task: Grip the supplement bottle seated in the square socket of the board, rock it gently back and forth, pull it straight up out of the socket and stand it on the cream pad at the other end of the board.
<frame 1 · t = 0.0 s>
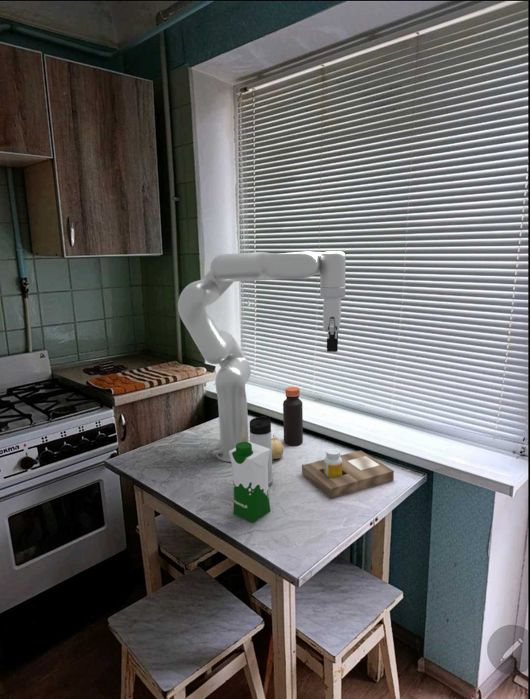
hand: (332, 347, 145), 37 cm above the table, tool pointing down, fingers open, 9 cm apart
onion: (271, 458, 156), on the table
socket board: (346, 477, 141), on the table
vinegar: (293, 442, 167), on the table
supplement bottle: (332, 481, 139), resting in socket board
travel mug: (262, 483, 139), on the table
milk carton: (252, 513, 124), on the table
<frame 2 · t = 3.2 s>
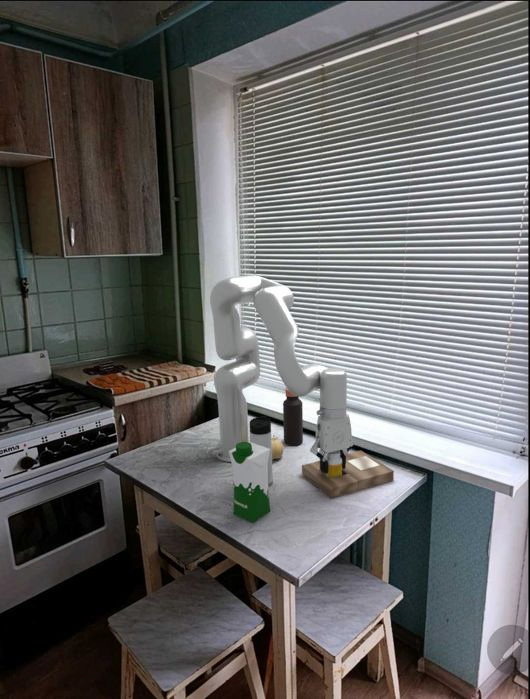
hand: (332, 468, 138), 4 cm above the table, tool pointing down, fingers closed on supplement bottle, 5 cm apart
supplement bottle: (332, 481, 139), resting in socket board, touching gripper
everything else where it was.
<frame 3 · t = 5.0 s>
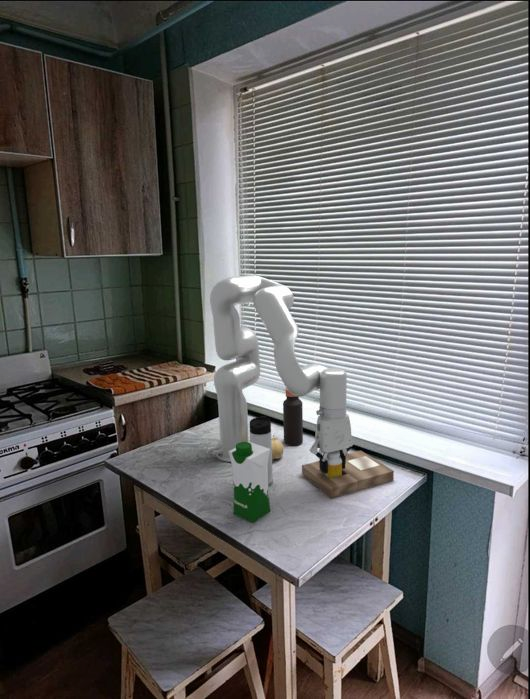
hand: (332, 468, 138), 4 cm above the table, tool pointing down, fingers closed on supplement bottle, 5 cm apart
supplement bottle: (332, 481, 139), resting in socket board, touching gripper
everything else where it was.
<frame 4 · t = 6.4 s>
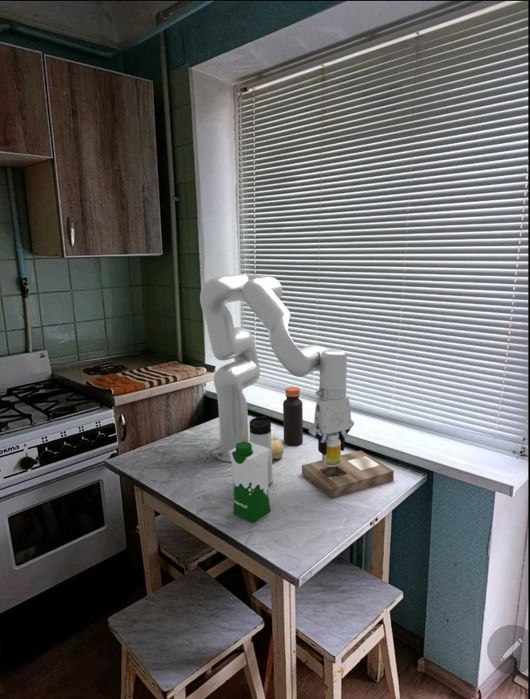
hand: (331, 450, 137), 10 cm above the table, tool pointing down, fingers closed on supplement bottle, 5 cm apart
supplement bottle: (331, 463, 138), point 5 cm above the table, touching gripper
everything else where it was.
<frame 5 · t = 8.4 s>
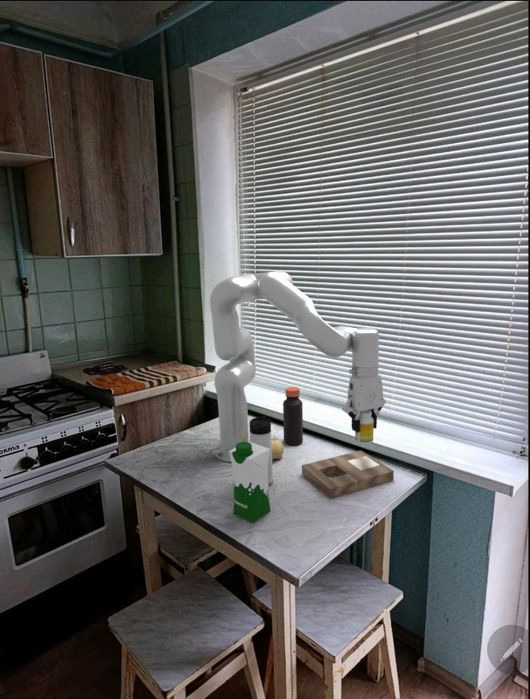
hand: (364, 428, 140), 14 cm above the table, tool pointing down, fingers closed on supplement bottle, 5 cm apart
supplement bottle: (364, 441, 141), point 10 cm above the table, touching gripper
everything else where it was.
when the fingers open (8 cm above the table, at t = 9.8 s): supplement bottle drops 1 cm, resting on socket board.
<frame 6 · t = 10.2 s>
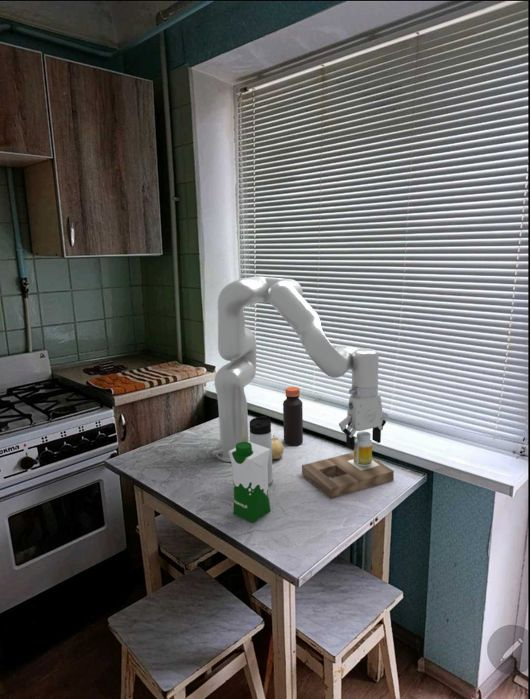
hand: (363, 444, 142), 9 cm above the table, tool pointing down, fingers open, 9 cm apart
supplement bottle: (362, 463, 143), point 3 cm above the table, touching socket board
everything else where it was.
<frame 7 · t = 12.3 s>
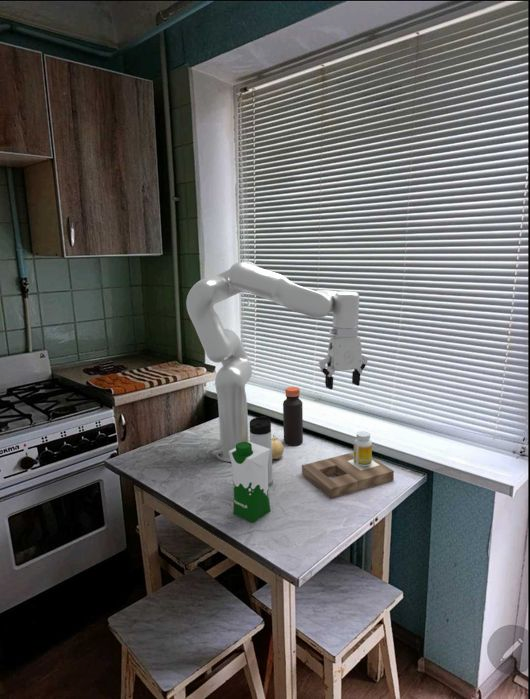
hand: (342, 386, 146), 25 cm above the table, tool pointing down, fingers open, 9 cm apart
nothing on the table moved.
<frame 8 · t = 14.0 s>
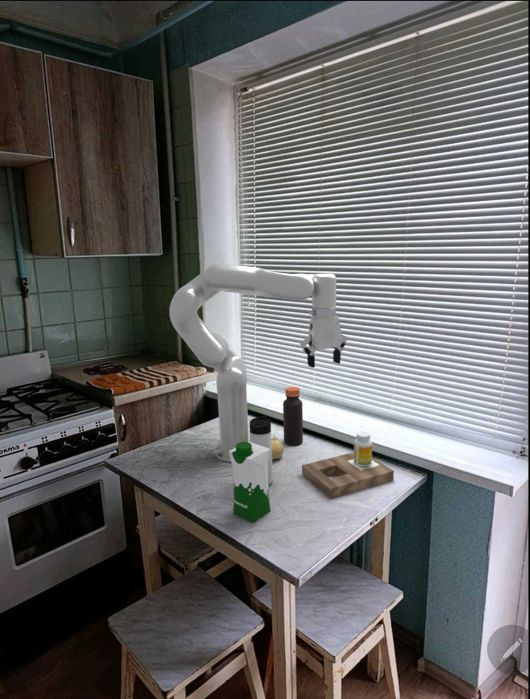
hand: (324, 364, 153), 30 cm above the table, tool pointing down, fingers open, 9 cm apart
nothing on the table moved.
at the end: supplement bottle 0.2 cm from the target spot, point 3.0 cm above the table; supplement bottle tilted 0°; the gripper is holding nothing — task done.
